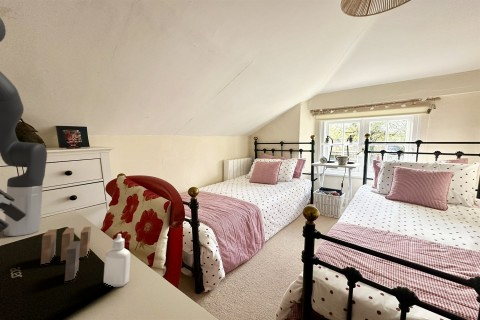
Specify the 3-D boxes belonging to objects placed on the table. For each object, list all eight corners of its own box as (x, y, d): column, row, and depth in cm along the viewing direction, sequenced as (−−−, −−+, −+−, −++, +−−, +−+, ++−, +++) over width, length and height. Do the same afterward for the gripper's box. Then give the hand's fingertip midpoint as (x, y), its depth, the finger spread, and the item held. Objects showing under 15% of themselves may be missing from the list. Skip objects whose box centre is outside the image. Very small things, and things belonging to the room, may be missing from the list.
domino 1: (40, 265, 57) (42, 235, 57) (46, 256, 62) (48, 229, 62) (49, 263, 58) (51, 235, 58) (54, 255, 62) (56, 229, 62)
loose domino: (64, 282, 50) (66, 249, 50) (69, 272, 55) (71, 241, 55) (74, 280, 51) (76, 248, 51) (78, 270, 56) (80, 240, 56)
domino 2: (60, 262, 59) (62, 234, 59) (65, 254, 64) (66, 228, 63) (68, 261, 60) (70, 233, 60) (72, 253, 64) (74, 227, 64)
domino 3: (79, 259, 61) (80, 232, 61) (82, 252, 66) (83, 227, 65) (86, 258, 62) (88, 231, 62) (89, 251, 66) (90, 226, 66)
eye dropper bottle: (111, 292, 48) (114, 240, 48) (101, 282, 52) (104, 233, 51) (130, 283, 52) (133, 235, 52) (120, 274, 55) (123, 229, 55)
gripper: (-70, 160, 37) (16, 220, 43) (-20, 158, 50) (41, 204, 55) (-122, 190, 35) (-24, 249, 40) (-56, 180, 47) (12, 226, 53)
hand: (13, 223), depth 48 cm, fingers open, 8 cm apart
